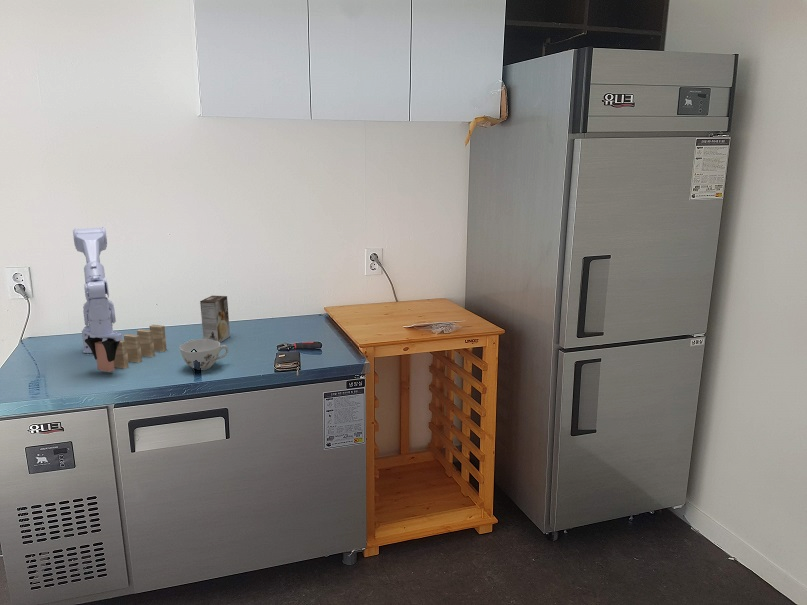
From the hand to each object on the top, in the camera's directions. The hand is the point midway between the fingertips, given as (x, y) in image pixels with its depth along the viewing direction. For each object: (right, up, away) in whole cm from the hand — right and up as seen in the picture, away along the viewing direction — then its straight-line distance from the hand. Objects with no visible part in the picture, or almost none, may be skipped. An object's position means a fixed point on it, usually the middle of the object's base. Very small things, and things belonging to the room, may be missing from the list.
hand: (104, 359), depth 198 cm
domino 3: (+6, 0, +17) cm, 19 cm away
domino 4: (+8, +1, +23) cm, 24 cm away
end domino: (0, -3, +1) cm, 3 cm away
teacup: (+30, -3, +7) cm, 31 cm away
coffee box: (+25, +4, +35) cm, 43 cm away
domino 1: (+2, -3, +7) cm, 7 cm away
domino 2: (+4, -2, +12) cm, 13 cm away
